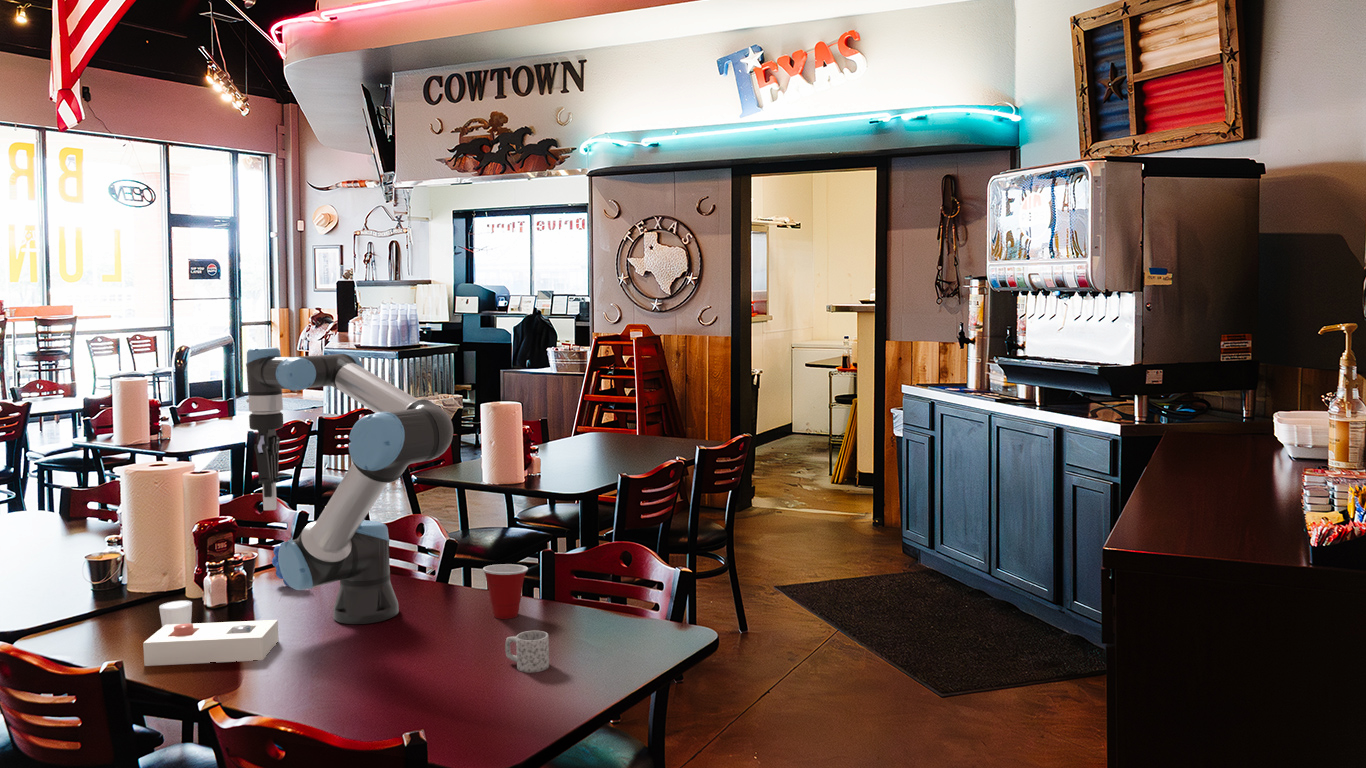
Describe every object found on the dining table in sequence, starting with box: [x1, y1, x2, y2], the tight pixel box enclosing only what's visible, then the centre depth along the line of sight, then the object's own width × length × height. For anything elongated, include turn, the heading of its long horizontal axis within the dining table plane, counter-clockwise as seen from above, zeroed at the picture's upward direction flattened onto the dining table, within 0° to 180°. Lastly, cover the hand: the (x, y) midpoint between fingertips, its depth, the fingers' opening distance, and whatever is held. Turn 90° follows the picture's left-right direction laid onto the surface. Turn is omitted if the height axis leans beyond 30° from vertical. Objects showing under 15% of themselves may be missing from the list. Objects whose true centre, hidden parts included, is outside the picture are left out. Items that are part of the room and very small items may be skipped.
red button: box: [174, 623, 194, 636], centre depth 219 cm, size 4×4×5 cm
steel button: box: [232, 625, 251, 634], centre depth 221 cm, size 4×4×5 cm
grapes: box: [271, 541, 291, 588], centre depth 271 cm, size 12×7×12 cm, turn 63°
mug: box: [504, 630, 550, 674], centre depth 211 cm, size 10×7×7 cm, turn 66°
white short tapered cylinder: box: [158, 599, 193, 628], centre depth 234 cm, size 7×7×7 cm
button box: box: [142, 619, 280, 667], centre depth 220 cm, size 24×12×5 cm, turn 97°
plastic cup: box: [482, 563, 529, 620], centre depth 245 cm, size 11×11×12 cm
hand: (270, 509), depth 244 cm, fingers closed
